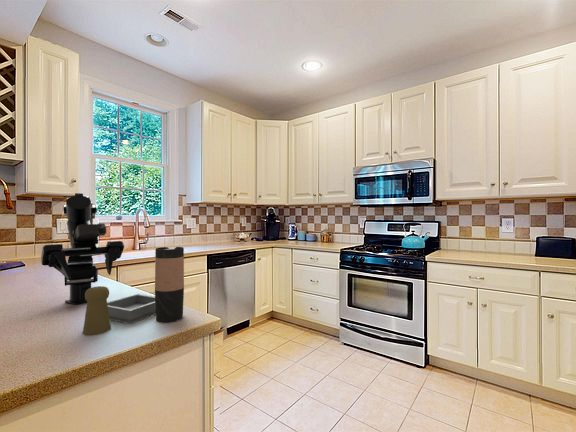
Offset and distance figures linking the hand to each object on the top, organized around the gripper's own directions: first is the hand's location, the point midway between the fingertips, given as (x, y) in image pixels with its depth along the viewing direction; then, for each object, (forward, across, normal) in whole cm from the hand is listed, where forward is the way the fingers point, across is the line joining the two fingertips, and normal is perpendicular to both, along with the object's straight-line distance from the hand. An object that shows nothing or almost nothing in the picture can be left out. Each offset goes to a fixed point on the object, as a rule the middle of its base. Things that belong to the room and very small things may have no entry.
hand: (90, 276), depth 78 cm
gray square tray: (+8, +11, +10) cm, 17 cm away
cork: (+14, 0, +5) cm, 15 cm away
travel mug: (+17, +17, +1) cm, 24 cm away
